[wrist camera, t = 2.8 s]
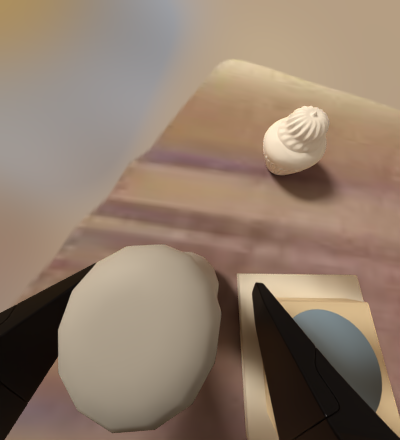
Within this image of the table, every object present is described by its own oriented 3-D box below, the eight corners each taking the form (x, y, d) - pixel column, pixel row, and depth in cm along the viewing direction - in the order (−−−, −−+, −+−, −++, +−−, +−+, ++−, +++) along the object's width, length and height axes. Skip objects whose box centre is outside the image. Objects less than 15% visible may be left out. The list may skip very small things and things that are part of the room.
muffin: (250, 145, 21) (273, 86, 14) (297, 143, 21) (342, 83, 14) (257, 187, 19) (287, 143, 12) (309, 185, 19) (366, 139, 12)
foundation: (388, 438, 12) (447, 492, 9) (245, 434, 12) (259, 485, 10) (347, 274, 16) (380, 275, 13) (236, 273, 16) (244, 274, 13)
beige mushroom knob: (224, 267, 16) (292, 261, 4) (203, 327, 15) (206, 632, 2) (173, 246, 17) (92, 183, 5) (148, 300, 16) (-73, 424, 3)
